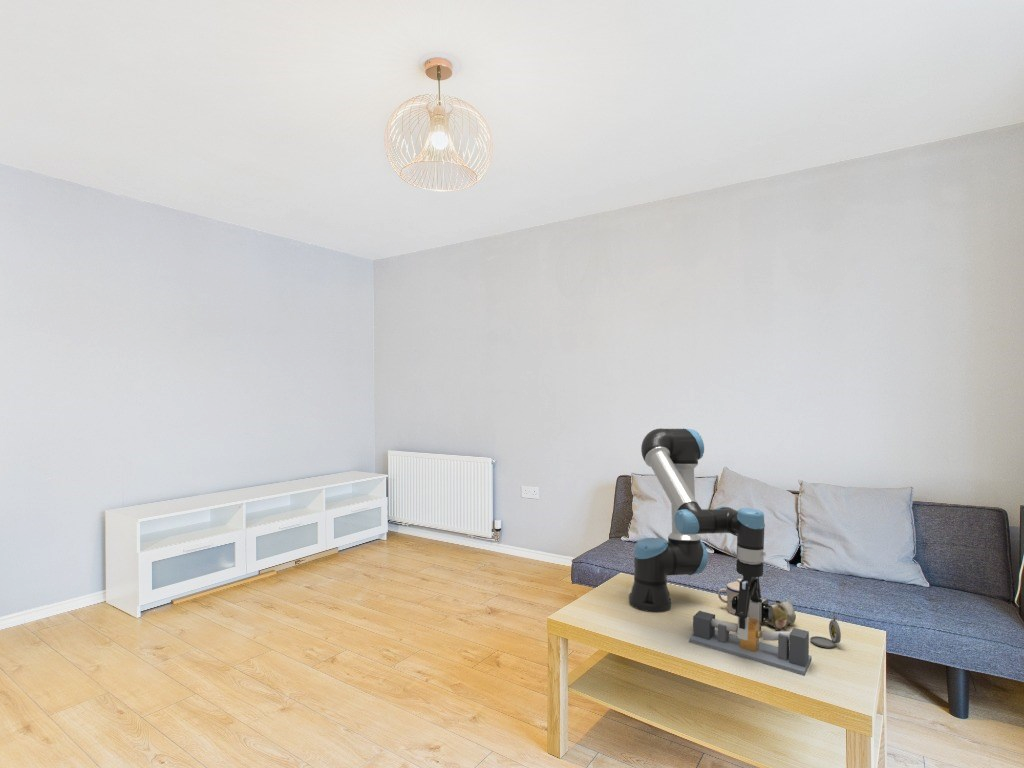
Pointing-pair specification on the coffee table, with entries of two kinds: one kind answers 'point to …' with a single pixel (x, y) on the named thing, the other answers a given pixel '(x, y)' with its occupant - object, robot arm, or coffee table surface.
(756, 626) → the universal joint coupler
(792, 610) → the ceramic sculpture
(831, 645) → the pocket watch
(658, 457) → the robot arm
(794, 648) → the shaft rig
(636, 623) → the coffee table surface
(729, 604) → the teacup with lid
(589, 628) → the coffee table surface
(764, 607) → the pneumatic valve
